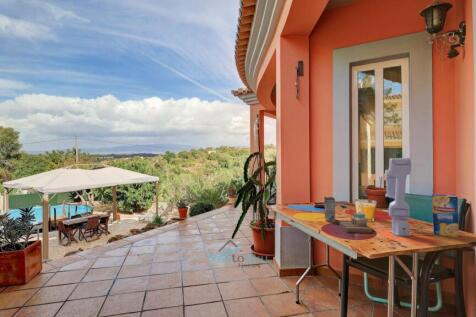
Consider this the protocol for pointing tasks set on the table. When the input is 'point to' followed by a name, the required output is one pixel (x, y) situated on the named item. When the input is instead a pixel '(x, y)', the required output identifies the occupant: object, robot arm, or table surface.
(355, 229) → the dock
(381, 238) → the table surface
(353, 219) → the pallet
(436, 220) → the blue cereal box
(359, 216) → the teal block
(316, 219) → the table surface
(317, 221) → the table surface
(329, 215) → the coffee box
